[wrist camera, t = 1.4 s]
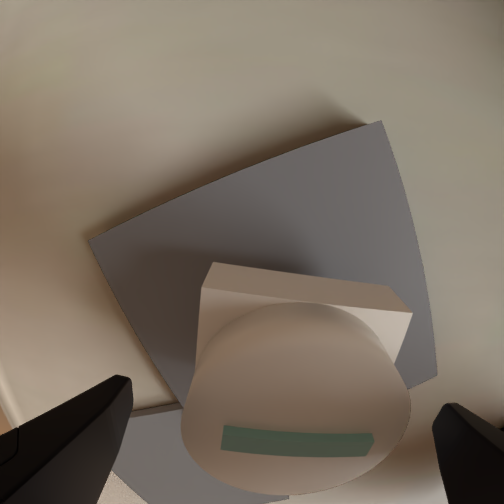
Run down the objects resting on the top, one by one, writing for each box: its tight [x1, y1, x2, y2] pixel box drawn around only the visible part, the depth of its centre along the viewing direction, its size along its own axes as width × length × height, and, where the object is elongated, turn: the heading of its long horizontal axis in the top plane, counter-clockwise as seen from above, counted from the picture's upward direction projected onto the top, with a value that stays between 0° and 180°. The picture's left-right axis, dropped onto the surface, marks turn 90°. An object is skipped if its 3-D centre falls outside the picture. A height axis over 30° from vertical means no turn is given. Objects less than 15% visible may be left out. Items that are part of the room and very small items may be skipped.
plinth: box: [88, 121, 437, 408], centre depth 11 cm, size 12×12×6 cm
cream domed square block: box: [180, 262, 413, 495], centre depth 8 cm, size 6×6×4 cm
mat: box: [111, 403, 289, 504], centre depth 17 cm, size 11×11×1 cm
